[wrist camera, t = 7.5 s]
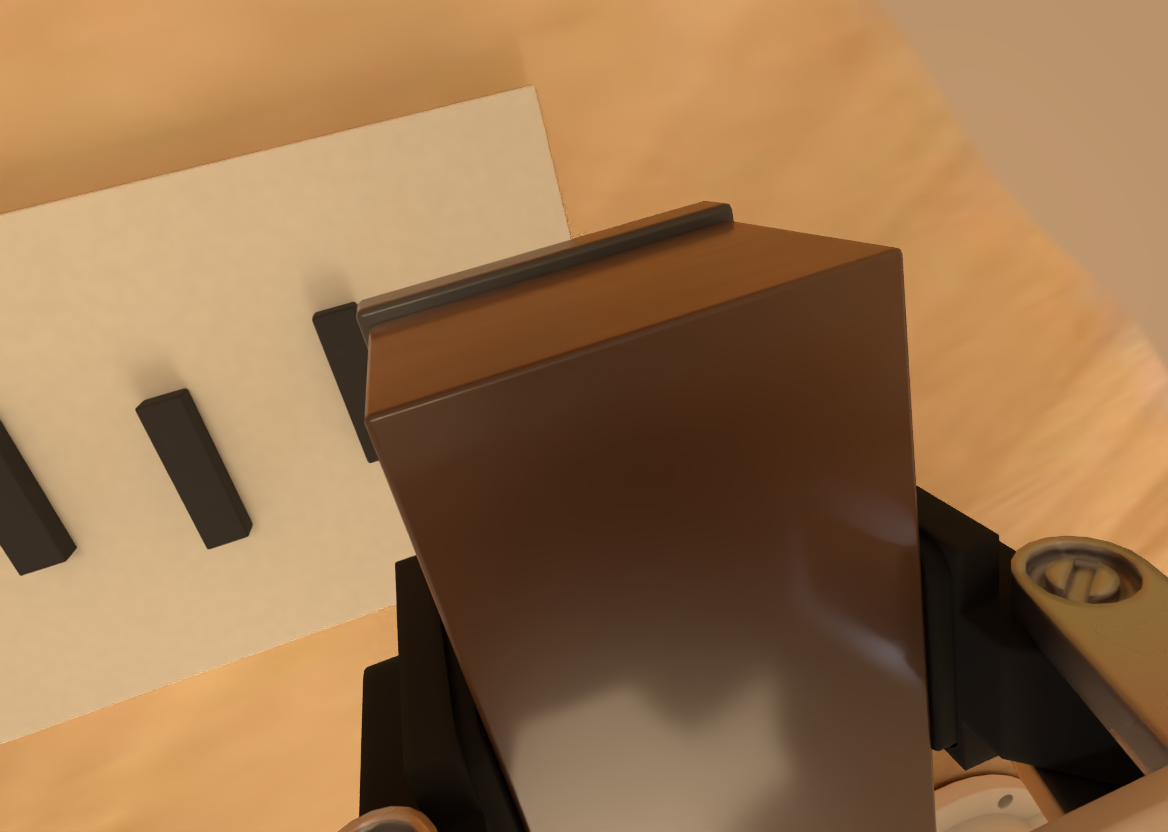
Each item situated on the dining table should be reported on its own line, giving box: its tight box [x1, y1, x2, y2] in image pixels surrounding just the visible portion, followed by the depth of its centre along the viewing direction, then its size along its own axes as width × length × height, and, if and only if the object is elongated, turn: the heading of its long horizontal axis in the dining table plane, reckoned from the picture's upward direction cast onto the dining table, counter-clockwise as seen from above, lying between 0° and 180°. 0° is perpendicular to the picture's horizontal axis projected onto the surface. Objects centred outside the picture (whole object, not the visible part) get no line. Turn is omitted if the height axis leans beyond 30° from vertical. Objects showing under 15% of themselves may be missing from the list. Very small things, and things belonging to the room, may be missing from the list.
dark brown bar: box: [312, 302, 379, 463], centre depth 20 cm, size 1×4×1 cm, turn 14°
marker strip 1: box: [0, 420, 77, 576], centre depth 19 cm, size 1×4×1 cm, turn 14°
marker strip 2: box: [135, 388, 253, 550], centre depth 20 cm, size 1×4×1 cm, turn 14°
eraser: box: [356, 201, 937, 832], centre depth 10 cm, size 5×10×4 cm, turn 14°
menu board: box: [0, 85, 571, 745], centre depth 21 cm, size 22×14×1 cm, turn 104°
